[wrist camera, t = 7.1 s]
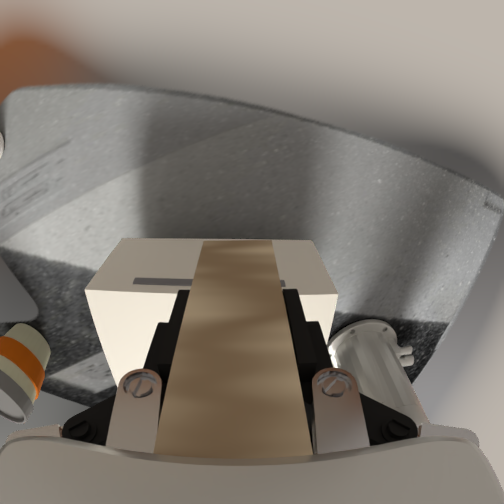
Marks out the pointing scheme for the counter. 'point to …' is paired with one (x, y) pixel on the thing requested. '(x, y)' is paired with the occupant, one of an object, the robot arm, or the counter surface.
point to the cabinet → (180, 278)
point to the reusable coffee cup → (21, 371)
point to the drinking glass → (1, 144)
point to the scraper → (234, 363)
